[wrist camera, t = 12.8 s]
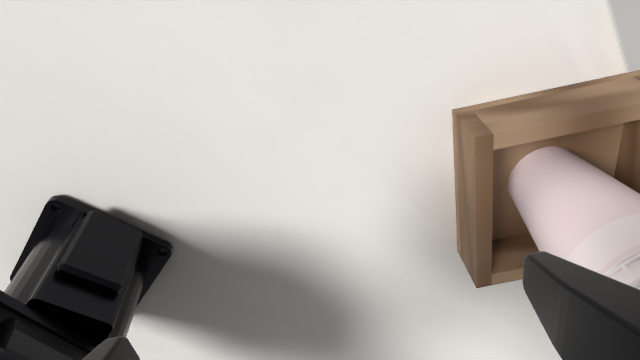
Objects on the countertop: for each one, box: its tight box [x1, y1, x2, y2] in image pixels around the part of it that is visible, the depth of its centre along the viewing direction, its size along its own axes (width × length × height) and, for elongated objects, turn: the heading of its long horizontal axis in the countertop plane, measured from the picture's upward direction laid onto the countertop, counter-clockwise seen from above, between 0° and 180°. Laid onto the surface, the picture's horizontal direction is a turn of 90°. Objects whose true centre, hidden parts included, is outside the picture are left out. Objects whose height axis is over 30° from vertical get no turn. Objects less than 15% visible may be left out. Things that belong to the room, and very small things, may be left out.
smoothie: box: [508, 146, 640, 290], centre depth 19 cm, size 6×6×14 cm
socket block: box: [452, 70, 640, 288], centre depth 24 cm, size 9×9×3 cm
